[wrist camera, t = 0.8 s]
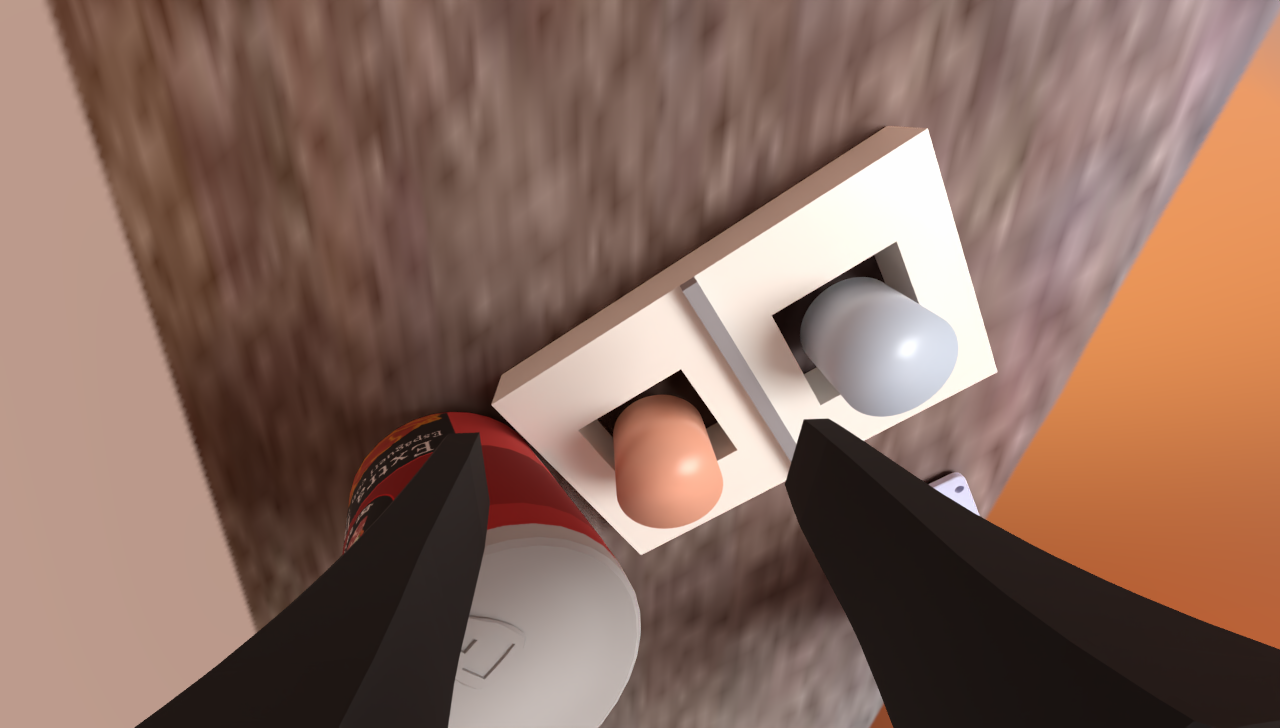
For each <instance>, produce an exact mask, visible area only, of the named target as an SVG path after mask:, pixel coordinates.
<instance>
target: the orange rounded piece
mask: <svg viewBox="0 0 1280 728" xmlns="http://www.w3.org/2000/svg"><path fill="white" fill-rule="evenodd" d="M613 444H614V461H615V478H616V495H617V501H618V503H619V506H620V508H621V509H622V511H623V512H624V513H625V514H626V515H627V516H628V517H629V518H630V519H632V520H633V521H635V522H637V523H639V524H641V525H644V526H647V527H651V528H658V529H669V528H677V527H681V526H685V525H688V524H691V523H693V522H695V521H697V520H699V519H701V518H702V517H704V516H705V515H706V514H708V513H709V512H710V511H711V510H712V509H713V508H714V506H715V505H716V504H717V502H718V501H719V499H720V496H721V494H722V490H723V477H722V474H721V471H720V468H719V465H718V462H717V459H716V456H715V454H714V451H713V448H712V445H711V442H710V439H709V436H708V434H707V431H706V428H705V425H704V422H703V419H702V417H701V415H700V413H699V411H698V410H697V409H696V408H695V407H694V406H693V405H692V404H691V403H689V402H688V401H686V400H684V399H682V398H679V397H676V396H672V395H652V396H648V397H644V398H642V399H639V400H637V401H635V402H634V403H632V404H631V405H629V406H628V407H627V408H626V409H624V411H623V412H622V413H621V414H620V415H619V417H618V418H617V421H616V423H615V426H614V430H613Z"/></svg>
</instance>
